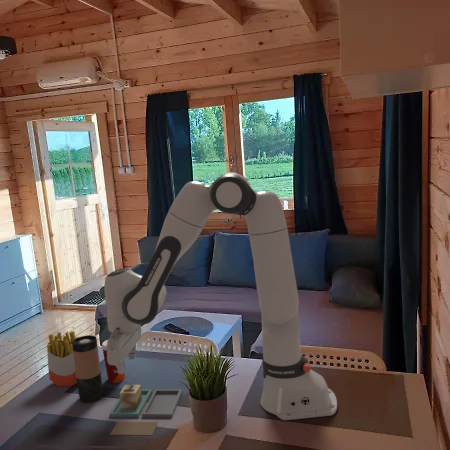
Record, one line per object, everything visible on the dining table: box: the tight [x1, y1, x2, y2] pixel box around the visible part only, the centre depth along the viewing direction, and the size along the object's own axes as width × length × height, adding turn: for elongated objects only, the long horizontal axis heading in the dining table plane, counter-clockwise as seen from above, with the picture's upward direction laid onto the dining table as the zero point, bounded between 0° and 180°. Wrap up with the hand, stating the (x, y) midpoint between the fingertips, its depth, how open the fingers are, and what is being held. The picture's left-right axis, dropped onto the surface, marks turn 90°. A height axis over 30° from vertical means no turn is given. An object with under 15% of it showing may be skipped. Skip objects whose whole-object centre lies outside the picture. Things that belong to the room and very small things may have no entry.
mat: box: [109, 421, 159, 437], centre depth 125 cm, size 12×6×1 cm, turn 83°
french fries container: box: [46, 330, 79, 387], centre depth 154 cm, size 5×11×18 cm, turn 88°
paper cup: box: [101, 339, 126, 384], centre depth 154 cm, size 8×8×14 cm
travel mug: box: [72, 334, 104, 404], centre depth 142 cm, size 8×8×20 cm
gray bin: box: [141, 388, 183, 419], centre depth 136 cm, size 9×14×2 cm, turn 173°
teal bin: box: [108, 388, 153, 418], centre depth 137 cm, size 9×14×2 cm, turn 173°
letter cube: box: [119, 384, 142, 409], centre depth 137 cm, size 5×5×5 cm
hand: (127, 365), depth 136 cm, fingers open, 8 cm apart
